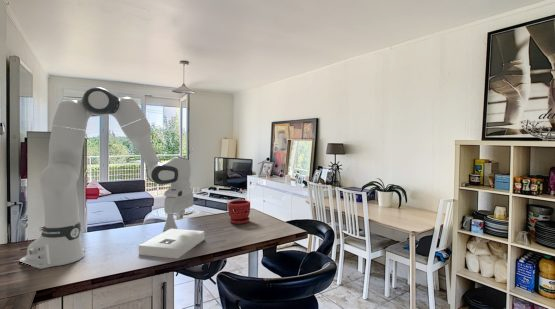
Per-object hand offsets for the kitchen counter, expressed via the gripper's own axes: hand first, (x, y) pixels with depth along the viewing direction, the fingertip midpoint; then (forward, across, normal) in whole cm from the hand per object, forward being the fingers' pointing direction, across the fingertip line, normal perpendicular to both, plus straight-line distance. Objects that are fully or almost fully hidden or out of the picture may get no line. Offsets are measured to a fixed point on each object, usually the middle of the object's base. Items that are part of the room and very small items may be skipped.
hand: (179, 219), depth 141 cm
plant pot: (+9, -37, +17) cm, 42 cm away
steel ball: (+8, +14, +2) cm, 16 cm away
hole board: (+10, +8, +2) cm, 13 cm away
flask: (+10, -13, -13) cm, 21 cm away
